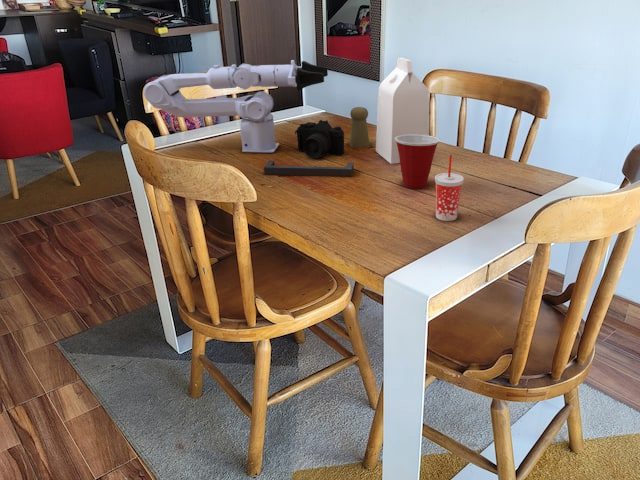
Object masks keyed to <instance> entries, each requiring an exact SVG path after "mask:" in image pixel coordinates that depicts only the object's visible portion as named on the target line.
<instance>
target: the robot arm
mask: <svg viewBox="0 0 640 480" xmlns="http://www.w3.org/2000/svg"><path fill="white" fill-rule="evenodd" d="M300 64H301V65H300V66H299V65H297V64H296V61H295V59H291V60H290V64H261V65H251V64H250V63H249V64H248V63H244V62H243V63H241V64H240V65H239V66H237V64H235V63H234V64H231V66H220V64H214V65H213V67H210V68H209V69H208V71H207V72H192V73H189V72H188V73H171V74H167V75H162V76H158V77H157V78H156V79H154V80H153V81H150V82H147V83H146V84H145V85H144V88H143V96H144V98H145V100H146V101H147V102H148V103H149V104H150V105H151V106H152V107H153V108H155V109H159V110H163V111H165V112H166V113H169V114H170V115H173V116H174V117H177V118H207V117H210V118H211V117H240V118H241V120H240V123H239V124H240V126H239V130H240V131H239V132H240V140H241V147H242V148H241V149H242V150H241V152H242V153H262V154H263V153H269V154H273V153H275V152H276V150H277V149H278V147H279V146H280V143H279V142H276V135H275V134H276V133H275V123H274V116H273V114H272V112H271V111H272V110H273V109H274V99H273V97H272V96H271V95H270V94H269V93H268V92H267V91H258V92H256V93H255V94H251V95H249V94H248V95H244V96H240V97H218V98H217V97H215V98H214V97H213V98H186V97H185V96H184V95H183V94H182V92H181V89H184V88H193V87H203V86H209V87H210V88H211V89H213V90H223V89H224V90H225V89H236V88H240V89H242V90H244V91H246V90H248V89H250V88H251V87H261V88H268V87H269V88H273V87H274V88H277V87H278V88H279V87H293V88H296V90H297V91H301V90H303V89H304V88H305V89H306V88H307V87H311V86H314V85H318V84H319V85H320V84H322V83H325V78H326V77H328V76H329V75H328V74H329V73H328V67H325V66H322V65H321V66H320V65H315V64H312V63H310V62H308V61H306V60H302V61H301V63H300Z"/></svg>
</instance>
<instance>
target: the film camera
mask: <svg viewBox="0 0 640 480" xmlns="http://www.w3.org/2000/svg"><path fill="white" fill-rule="evenodd" d="M294 135H295V136H296V140H297V149H298V151H300V152H304V153H305V155H306V156H307V157H309V158H310V159H317V158H321V157H323V156H326V155H332V156H343V155H344V154H345V150H346V149H345V132H344V130H343V129H342V127H341V126H340V125H339V126H335V127H332V125H331V124H330V123H329V120H327V119H326V120H322V119H319V121H318V122H311V121H307V122H306V123H300V124H299V125H298V126H297V129H296V130H294Z"/></svg>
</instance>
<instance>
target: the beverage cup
mask: <svg viewBox="0 0 640 480" xmlns="http://www.w3.org/2000/svg"><path fill="white" fill-rule="evenodd" d="M448 157H449V158H448V160H449V161H448V172H443V173H438V174H435V176H434V183H435V217H436V219H438V220H440V221H444V222H449V221H450V222H451V221H455V220H457V218H458V213H459V206H460V200H461V192H462V186H463V183H464V179H465V178H464V176H463V175H461V174H458V173H453V172H452V161H453V154H449V156H448Z"/></svg>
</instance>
